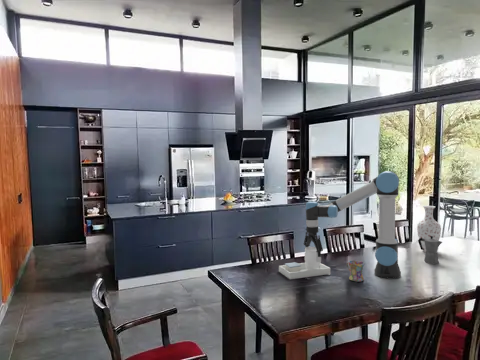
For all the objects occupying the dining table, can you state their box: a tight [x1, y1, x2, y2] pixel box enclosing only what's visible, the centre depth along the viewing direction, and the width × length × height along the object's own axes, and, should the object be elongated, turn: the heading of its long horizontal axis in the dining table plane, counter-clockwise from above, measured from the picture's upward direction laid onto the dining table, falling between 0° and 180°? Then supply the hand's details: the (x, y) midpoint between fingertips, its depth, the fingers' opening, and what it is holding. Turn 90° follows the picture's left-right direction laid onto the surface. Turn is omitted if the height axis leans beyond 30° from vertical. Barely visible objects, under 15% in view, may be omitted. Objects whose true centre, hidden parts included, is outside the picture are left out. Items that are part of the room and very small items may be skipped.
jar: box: [304, 246, 322, 270], centre depth 221 cm, size 11×10×15 cm
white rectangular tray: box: [278, 262, 331, 280], centre depth 220 cm, size 16×28×4 cm, turn 108°
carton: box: [284, 264, 300, 272], centre depth 217 cm, size 7×7×6 cm
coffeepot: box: [417, 236, 443, 264], centre depth 241 cm, size 15×9×18 cm, turn 44°
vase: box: [416, 205, 442, 253], centre depth 267 cm, size 16×16×35 cm
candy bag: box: [346, 259, 365, 282], centre depth 207 cm, size 12×9×11 cm
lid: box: [284, 261, 301, 268], centre depth 217 cm, size 8×8×1 cm
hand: (313, 259), depth 221 cm, fingers open, 13 cm apart
